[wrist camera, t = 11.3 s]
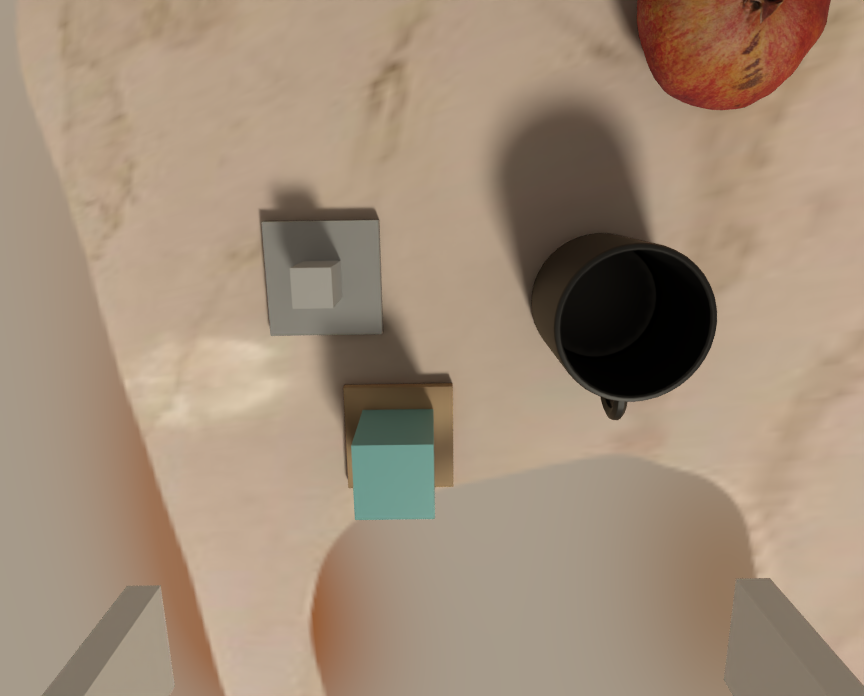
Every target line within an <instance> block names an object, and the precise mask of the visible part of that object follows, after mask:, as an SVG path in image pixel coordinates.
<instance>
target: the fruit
mask: <svg viewBox="0 0 864 696" xmlns="http://www.w3.org/2000/svg"><path fill="white" fill-rule="evenodd" d="M830 1H831V0H637V11H638V12H637V25H638V31H639V38H640V41H641V45H642V48H643V50H644V54H645V57H646V61H647V63H648V66H649V68H650V70H651V72H652V74H653V76H654V78H655V80H656V81H657V82H658V84H659V85H660V86H661V88H662V89H663V90H664V91H665V92H666V93H667V94H669V95H670V96H672V97H674V98H676V99H678V100H680V101H682V102H684V103H687V104H689V105H692V106H696V107H700V108H705V109H711V110H729V109H738V108H744V107H746V106H748V105H751V104H752V103H754V102H756V101H757V100H759V99H761V98H763V97H765V96H768V95H769V94H771V93H772V92H773V91H775V90H776V89H777V87H779V86H780V85H781V84H782V83H783V82H784V81H785V80H786V79H787V78H788V77H790V76H791V75H792V74H793V72H794V71H795V70H796V69H797V67H798V66H799V64H800V63H801V61H802V60H803V58H804V57H805V55H806V54H807V53H808V51H809V50H810V49H811V47H812V46H813V45H814V44H815V43H816V41H817V40H818V39H819V37H820V36H821V34H822V32H823V30H824V28H825V25H826V22H827V17H828V11H829V5H830Z"/></svg>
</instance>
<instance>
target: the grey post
mask: <svg viewBox="0 0 864 696" xmlns="http://www.w3.org/2000/svg"><path fill="white" fill-rule="evenodd" d="M261 223H262V236H263V248H264V260H265V272H266V285H267V297H268V309H269V321H270V334H271V336H293V335H362V334H383V313H382V285H381V257H380V229H379V220H324V221H264V222H261Z"/></svg>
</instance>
